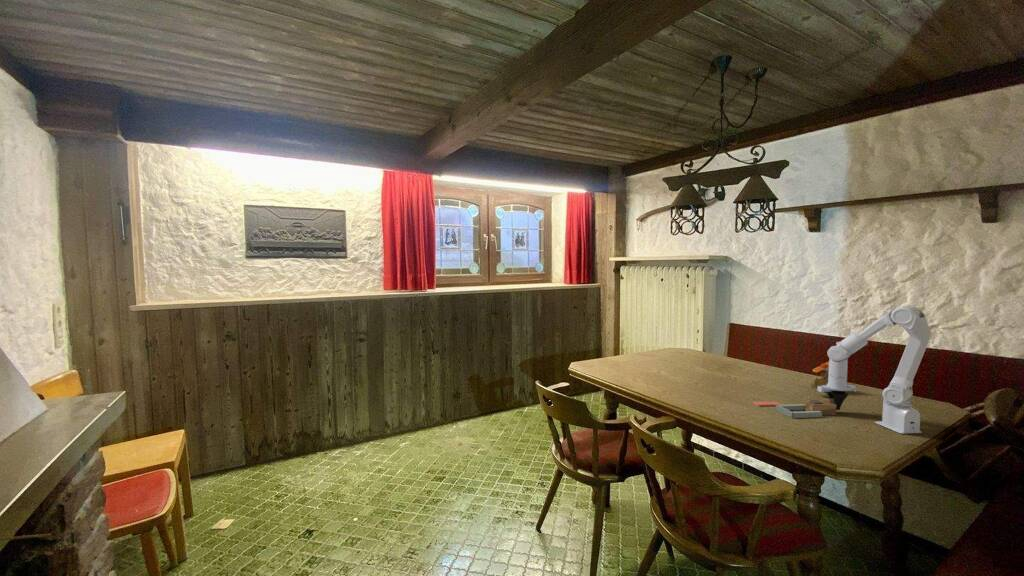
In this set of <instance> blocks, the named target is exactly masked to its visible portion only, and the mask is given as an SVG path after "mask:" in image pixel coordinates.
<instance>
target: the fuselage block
mask: <svg viewBox="0 0 1024 576" xmlns="http://www.w3.org/2000/svg"><path fill="white" fill-rule="evenodd" d="M804 404H805V410H804V411H821V412H822V416H823V415H824V416H825V415H826V416H827V415H828V416H829V415H830V416H831V415H832V416H836V415H837V410H836V406H837V405H836V404H834V399H829V398H828V400H818V399H810V400H805V403H804Z"/></svg>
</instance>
